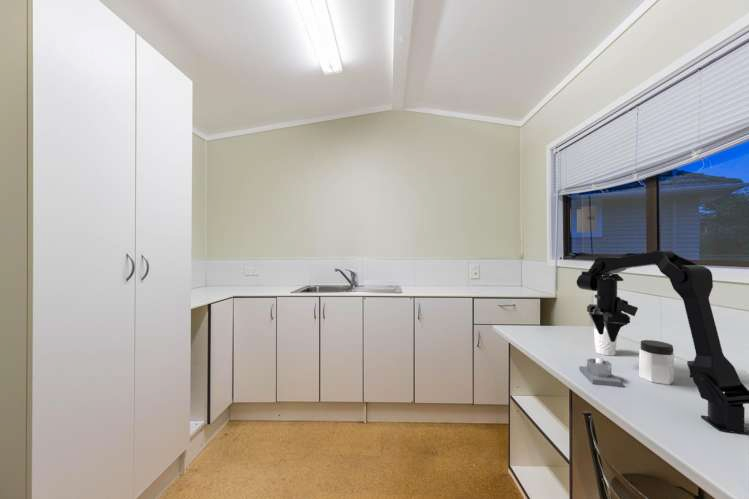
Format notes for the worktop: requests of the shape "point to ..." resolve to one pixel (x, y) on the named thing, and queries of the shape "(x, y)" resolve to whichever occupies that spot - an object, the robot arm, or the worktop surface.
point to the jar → (656, 362)
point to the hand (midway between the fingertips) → (606, 337)
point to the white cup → (604, 343)
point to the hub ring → (599, 368)
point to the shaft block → (600, 380)
